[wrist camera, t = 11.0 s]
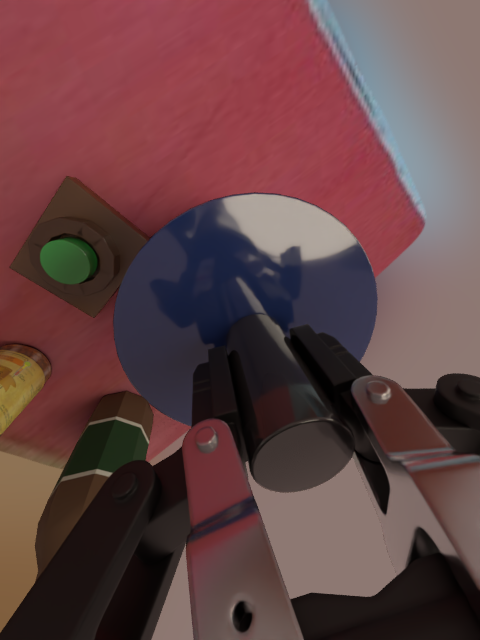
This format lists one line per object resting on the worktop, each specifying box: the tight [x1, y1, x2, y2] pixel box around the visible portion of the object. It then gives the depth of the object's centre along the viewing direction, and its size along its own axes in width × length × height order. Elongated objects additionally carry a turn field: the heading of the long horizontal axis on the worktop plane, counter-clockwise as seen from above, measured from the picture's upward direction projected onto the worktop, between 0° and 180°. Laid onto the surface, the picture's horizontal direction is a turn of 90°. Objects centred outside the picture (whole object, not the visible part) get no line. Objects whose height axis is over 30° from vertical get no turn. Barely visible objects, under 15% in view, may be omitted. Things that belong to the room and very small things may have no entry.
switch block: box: [10, 176, 150, 318], centre depth 22 cm, size 8×10×4 cm
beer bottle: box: [35, 391, 154, 582], centre depth 22 cm, size 8×8×24 cm
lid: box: [113, 192, 377, 493], centre depth 9 cm, size 12×12×7 cm
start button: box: [40, 237, 97, 284], centre depth 20 cm, size 4×4×2 cm
